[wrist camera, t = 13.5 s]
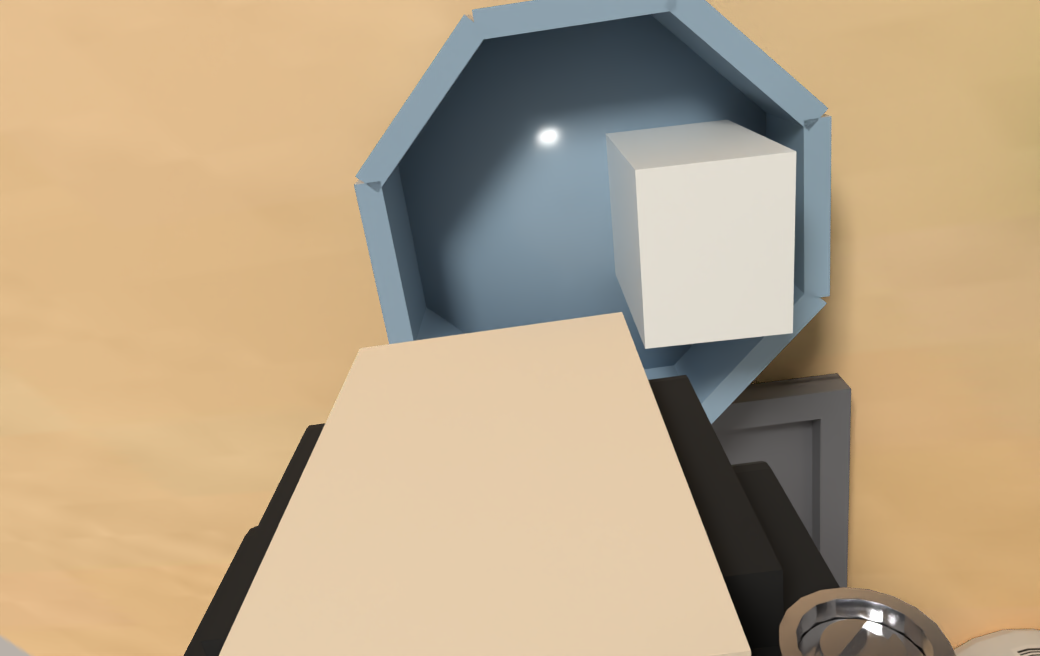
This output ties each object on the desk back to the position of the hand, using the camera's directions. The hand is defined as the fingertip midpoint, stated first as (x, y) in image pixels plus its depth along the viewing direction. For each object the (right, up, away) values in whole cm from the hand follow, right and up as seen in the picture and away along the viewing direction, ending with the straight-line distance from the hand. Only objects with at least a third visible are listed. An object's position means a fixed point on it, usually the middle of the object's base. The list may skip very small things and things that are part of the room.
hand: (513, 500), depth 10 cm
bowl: (+2, +6, +14) cm, 15 cm away
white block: (+5, +6, +13) cm, 15 cm away
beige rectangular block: (0, 0, +1) cm, 1 cm away
